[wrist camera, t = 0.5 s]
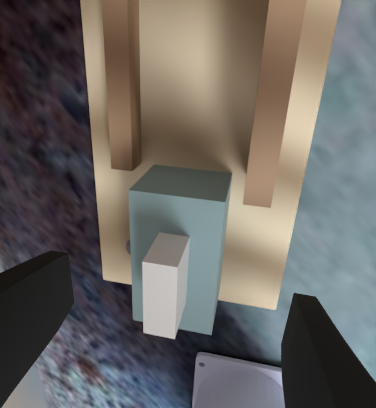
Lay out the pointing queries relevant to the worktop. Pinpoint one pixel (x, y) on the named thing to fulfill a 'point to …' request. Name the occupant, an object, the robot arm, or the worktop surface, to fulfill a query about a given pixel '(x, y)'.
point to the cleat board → (208, 117)
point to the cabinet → (177, 247)
